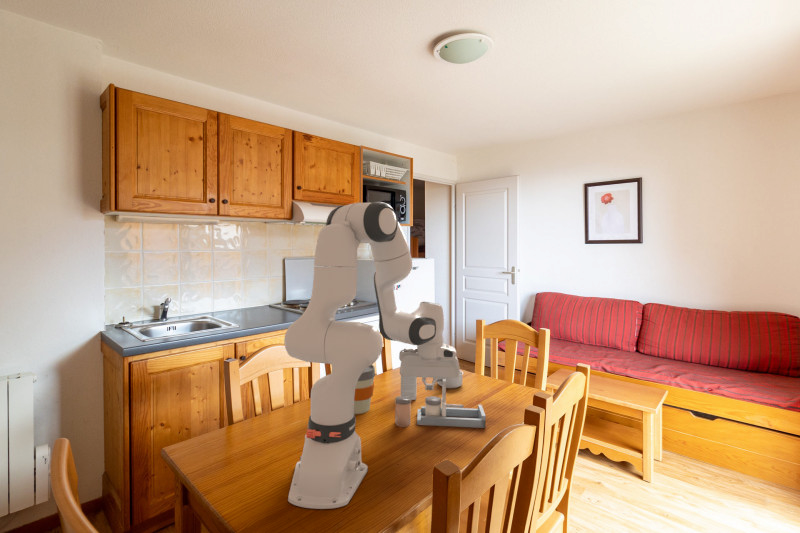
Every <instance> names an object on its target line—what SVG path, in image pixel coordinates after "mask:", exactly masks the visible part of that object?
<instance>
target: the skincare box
mask: <svg viewBox="0 0 800 533" xmlns="http://www.w3.org/2000/svg"><path fill="white" fill-rule="evenodd" d="M417 378H418V377H403V376H401V375H400V396H408V397H410V398H411V401H414V400H415V401H416V399H417V393H418V392H417V389H418V388H417V380H418V379H417Z"/></svg>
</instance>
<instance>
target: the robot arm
mask: <svg viewBox="0 0 800 533" xmlns="http://www.w3.org/2000/svg"><path fill="white" fill-rule="evenodd" d="M317 236H318V237H317V240H316V246H315V251H314V261H313V263H314V264H313V277H312V278H313V280H312V281H313V282H312V290H311V297H310V300H309V303H308V305H307V307H306V309H305V310H304V312H303V313H302V314H301V316H300V317H298V318H297V319H296V320H295V321H293V322H292V323H291V324H290V325H289V326H288V328H287V329H286V332H285V334H284V339H283V340H284V348H285V350H286V353H287V355H288V356H289V357H291V358H294V359H296V360H300V361H303V362H307V363H315V364H317V363H318V364H327V365H331V371H330V372H331V373H330V374H327V375H325V376H322V377H321V378H319V379H317V380H316V381H315V382H314V384H313V385H312V387H311V390H310V415H309V416H308V423H307V429H306V434H305V435H304V445H303V449H302V453H301V454H302V455H300V457H299V461H297V462H296V464H295V468H294V471H293V472H294V473H293V476H292V481H291V483H290V487H289V488H290V489H289V492H288V498H287V501H288V502H289V503H290V504H292V505H293V506H297V507H301V508H305V509H313V510H314V509H316V510H319V509H320V510H325V509H327V510H328V509H331V510H332V509H336V508H337V509H338V508H341V507H344V506H347V505H348V504H349V502H350V500H351V499H352V498H353V496H354V494H355V493H356V492H357V489H358V488H359V486H360V485H361V483H362V481H363V479H364V478H365V476H366V475H367V472H368V471H369V469H368V467H369V466H368V465H367V464H366V463H364V462H362V438H361V437H360V435H359V434H358V433H357V432H356V422H357V421H356V420H357V419H356V414H354V396H355V388H356V384H357V381H358V379H359V377H360V375H361V374H362V373H363V372H364V370H365V369H366V368H368V367H369V366H370V365H373V364H374V363H376V362H377V361H378V359H379V358H380V356H381V353H382V350H383V345H384V344H383V338H384V339H385V340H387V341H393V342H400V343H403V344H409V345H412V346H416V348H403V349H401V350H400V351H399V355H398V357H399V361H400V366H399V367H400V368H399V375H400V377H401V376H403V377H417V378H421V381H422V383H423V384H424V390H425V391H434V389H435V388H434V386H435V385H436V383H437V378H458V377H459V376H460V370H461V368H460V364H459V363H460V361H459V359H458V356H457V349H456V348H455V347H454V346H452V345H449V344H446V343H444V337H443V332H444V329H445V321H444V320H445V318H444V316H445V315H444V308H443V306H442V305H441V304H440V303H436V302H431V301H421V302H420V303H419V305H418V308H417V309H416V310H414V311H413V312H411V313H408V312H403V311H401V310H399V309H398V307H397V303H396V297H395V292H394V287H395V285H396V284H397V283H400V282H402V281H403V280H405V279H406V278H407V277H408V276H409V274H410V273H411V272H412V268H413V259H412V258H413V257H412V254H411V251H410V247H409V243H408V241H407V238H406V235H405V233H404V231H403V227H402V226H401V224H400V222H399V219H398V216H397V213H396V211H395V209H394V208H393V207H392V206H391V205H390V204H389V203H386V202H383V201H382V202H381V201H372V202H355V203H349V204H346V205H344V204H343V205H340V206H337V207H335V208H334V209H332V210H331V211H330V212H329V213H328V216H327V218H326V222H325V225H324V226H323V227H322V228H321V229H320V231H319V233H318V235H317ZM363 244H369V246H370V249H371V253H372V254H371V255H372V257H373V260H374V265H375V272H374V275H373V284H374V285H373V286H374V292H375V297H376V303H377V309H378V318H379V319H378V328H379V329H378V328H377V327H375V326H374V325H370V324H366V323H363V322H358V321H357V322H356V321H344V320H336V319H335V318H336V315H337V314H336V313H337V312H338V310H339V309H342V308H343V307H345V306H348V305H349V304H351V303H352V301H354V299H355V297H357V296H356V295H357V288H358V287H357V286H358V284H357V283H358V248H359V246H360V245H363ZM382 337H383V338H382ZM427 378H429V379H430V378H431V379H432V381H433V382H431V383H429V382H428V383H427Z"/></svg>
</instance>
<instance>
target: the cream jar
mask: <svg viewBox="0 0 800 533" xmlns="http://www.w3.org/2000/svg"><path fill="white" fill-rule="evenodd" d="M424 398H425V399H424V403H425V405H424V406H425V415H424V416H435V417H441V416H440V415H441V404H442V398H440V397H438V396H434V395H433V396H432V395H431V396H426V397H424Z"/></svg>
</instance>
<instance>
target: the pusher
mask: <svg viewBox="0 0 800 533" xmlns="http://www.w3.org/2000/svg"><path fill="white" fill-rule="evenodd" d="M441 387H442V389H441V390H442V392H441V393H442V394H441V416H440V417H447V416H446V407H448V408H464V404H454V403H447V398H446V397H447V388H446V379H443V384H442V386H441Z"/></svg>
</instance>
